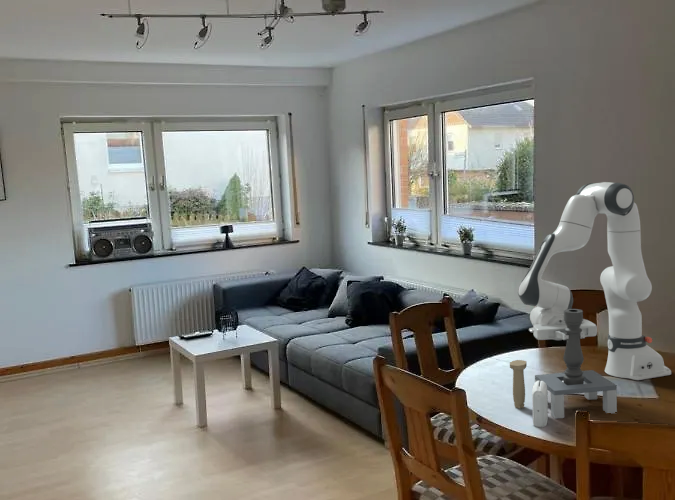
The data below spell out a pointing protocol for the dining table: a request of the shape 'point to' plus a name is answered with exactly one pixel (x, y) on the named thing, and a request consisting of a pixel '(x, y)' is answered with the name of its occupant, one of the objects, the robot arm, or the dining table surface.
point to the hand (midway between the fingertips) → (574, 336)
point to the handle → (518, 382)
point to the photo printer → (540, 404)
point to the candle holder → (573, 347)
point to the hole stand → (579, 391)
